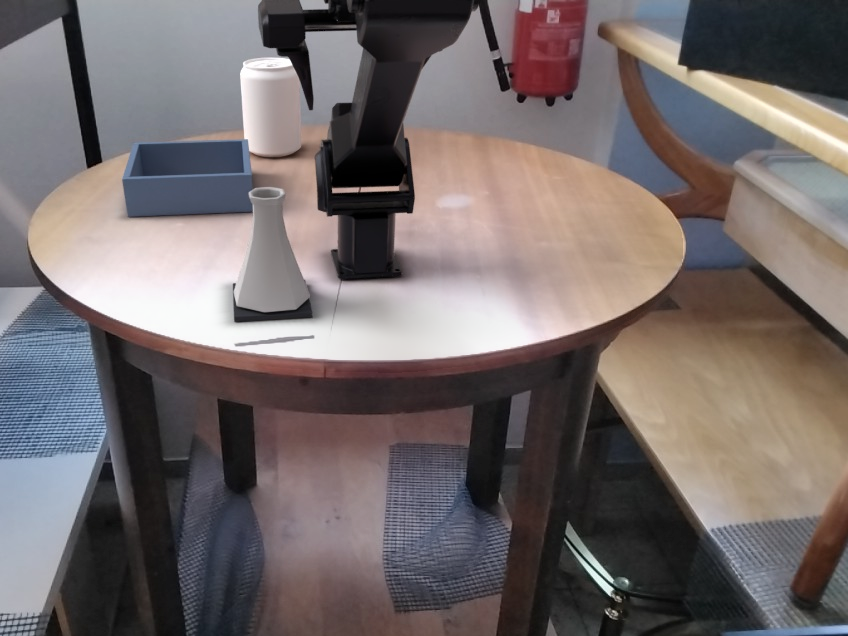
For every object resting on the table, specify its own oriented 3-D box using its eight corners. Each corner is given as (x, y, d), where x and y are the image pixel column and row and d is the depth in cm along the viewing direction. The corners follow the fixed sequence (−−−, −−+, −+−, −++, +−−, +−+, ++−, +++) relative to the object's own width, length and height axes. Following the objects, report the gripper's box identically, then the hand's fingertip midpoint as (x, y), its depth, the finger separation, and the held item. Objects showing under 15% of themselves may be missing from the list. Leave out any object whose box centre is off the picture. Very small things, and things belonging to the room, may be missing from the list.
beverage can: (236, 156, 112) (229, 66, 105) (258, 140, 118) (253, 55, 112) (289, 161, 110) (286, 70, 103) (309, 145, 116) (307, 59, 110)
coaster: (312, 317, 71) (312, 312, 71) (234, 322, 70) (233, 317, 70) (305, 283, 77) (305, 279, 77) (233, 287, 76) (232, 283, 76)
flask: (315, 282, 76) (314, 180, 71) (304, 317, 70) (302, 209, 65) (242, 278, 77) (234, 177, 71) (224, 312, 71) (215, 205, 65)
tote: (254, 211, 93) (251, 174, 91) (127, 217, 91) (121, 179, 89) (249, 172, 105) (247, 138, 103) (138, 176, 104) (133, 142, 101)
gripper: (439, -86, 78) (424, 72, 89) (249, -84, 75) (257, 78, 86) (470, -53, 70) (449, 116, 81) (259, -51, 67) (267, 124, 78)
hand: (354, 106), depth 81 cm, fingers open, 9 cm apart
